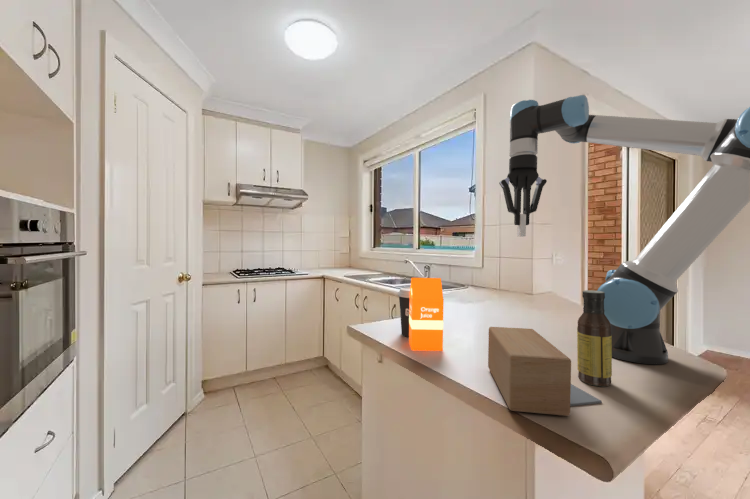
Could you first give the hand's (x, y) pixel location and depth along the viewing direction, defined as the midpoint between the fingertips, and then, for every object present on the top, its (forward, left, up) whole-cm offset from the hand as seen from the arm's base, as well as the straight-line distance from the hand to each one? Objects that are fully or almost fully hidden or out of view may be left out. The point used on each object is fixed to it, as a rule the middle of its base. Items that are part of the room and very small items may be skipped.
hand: (521, 236), depth 93 cm
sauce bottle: (-8, +24, -33) cm, 41 cm away
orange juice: (+28, +6, -33) cm, 43 cm away
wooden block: (+9, +21, -27) cm, 35 cm away
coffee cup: (+32, -5, -33) cm, 46 cm away
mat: (+4, +29, -32) cm, 44 cm away
